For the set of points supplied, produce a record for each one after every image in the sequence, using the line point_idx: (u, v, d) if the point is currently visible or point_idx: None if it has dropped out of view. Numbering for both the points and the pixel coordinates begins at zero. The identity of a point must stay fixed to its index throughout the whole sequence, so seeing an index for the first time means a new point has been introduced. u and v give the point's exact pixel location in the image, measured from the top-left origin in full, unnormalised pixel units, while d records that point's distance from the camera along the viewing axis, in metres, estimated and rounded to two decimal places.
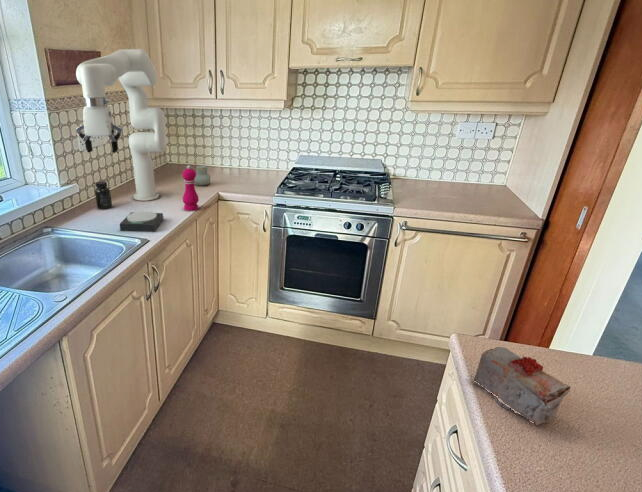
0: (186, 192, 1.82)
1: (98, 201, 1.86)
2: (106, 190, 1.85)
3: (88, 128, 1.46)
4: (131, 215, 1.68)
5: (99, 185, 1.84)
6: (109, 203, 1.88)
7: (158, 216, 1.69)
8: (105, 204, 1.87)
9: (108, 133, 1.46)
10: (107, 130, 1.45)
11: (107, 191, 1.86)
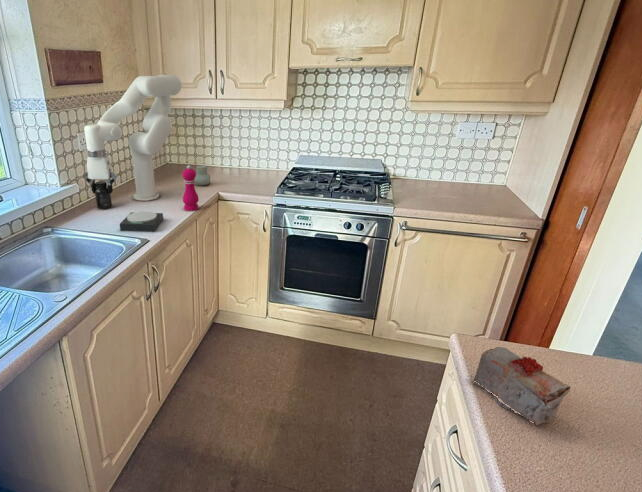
0: (186, 192, 1.82)
1: (98, 201, 1.86)
2: (106, 190, 1.85)
3: (91, 173, 1.82)
4: (131, 215, 1.68)
5: (99, 185, 1.84)
6: (109, 203, 1.88)
7: (158, 216, 1.69)
8: (105, 204, 1.87)
9: (107, 177, 1.82)
10: (106, 175, 1.82)
11: (107, 191, 1.86)
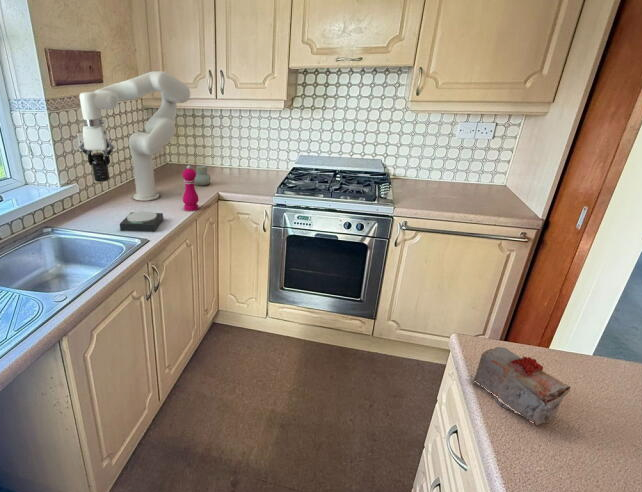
0: (186, 192, 1.82)
1: (95, 173, 1.81)
2: (103, 161, 1.80)
3: (87, 144, 1.76)
4: (131, 215, 1.68)
5: (96, 156, 1.78)
6: (107, 175, 1.83)
7: (158, 216, 1.69)
8: (102, 176, 1.81)
9: (104, 148, 1.76)
10: (103, 145, 1.76)
11: (104, 162, 1.80)
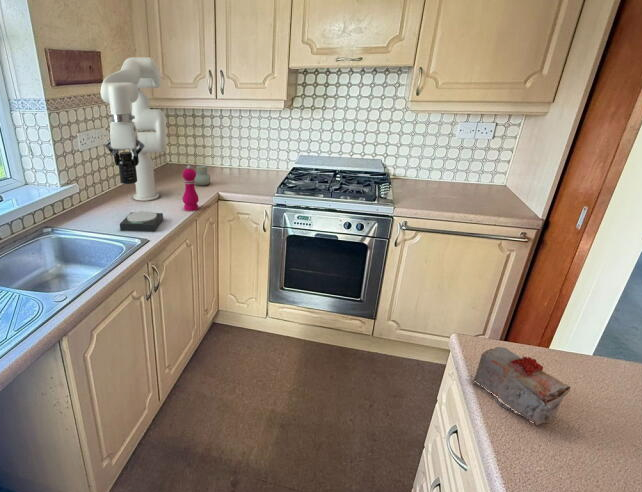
0: (186, 192, 1.82)
1: (122, 174, 1.62)
2: (131, 161, 1.61)
3: (114, 142, 1.58)
4: (131, 215, 1.68)
5: (123, 155, 1.60)
6: (135, 177, 1.64)
7: (158, 216, 1.69)
8: (130, 178, 1.63)
9: (133, 146, 1.58)
10: (132, 143, 1.57)
11: (132, 163, 1.61)
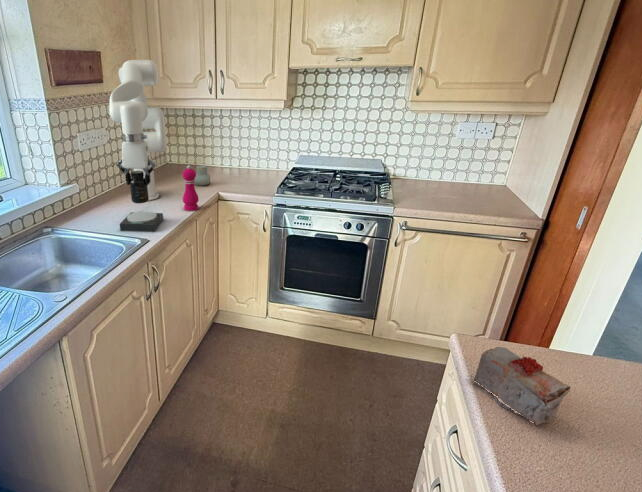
0: (186, 192, 1.82)
1: (133, 194, 1.60)
2: (143, 181, 1.59)
3: (126, 161, 1.56)
4: (131, 215, 1.68)
5: (135, 175, 1.58)
6: (146, 196, 1.62)
7: (158, 216, 1.69)
8: (141, 198, 1.61)
9: (145, 166, 1.56)
10: (144, 163, 1.56)
11: (144, 182, 1.59)
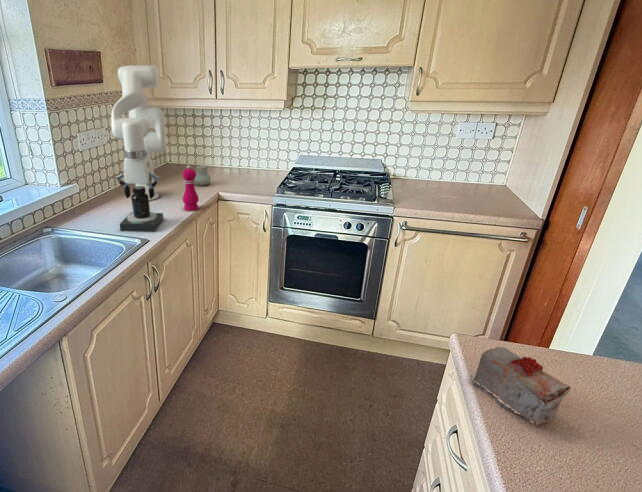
0: (186, 192, 1.82)
1: (135, 209, 1.63)
2: (145, 196, 1.62)
3: (128, 177, 1.59)
4: (131, 215, 1.68)
5: (137, 191, 1.60)
6: (148, 211, 1.65)
7: (158, 216, 1.69)
8: (143, 213, 1.64)
9: (146, 182, 1.59)
10: (145, 179, 1.58)
11: (146, 198, 1.62)
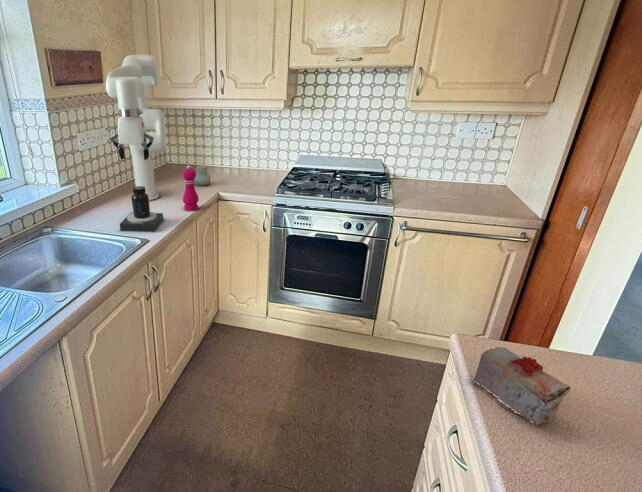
0: (186, 192, 1.82)
1: (135, 209, 1.63)
2: (145, 196, 1.62)
3: (122, 137, 1.56)
4: (131, 215, 1.68)
5: (137, 191, 1.60)
6: (148, 211, 1.65)
7: (158, 216, 1.69)
8: (143, 213, 1.64)
9: (141, 142, 1.56)
10: (140, 139, 1.56)
11: (146, 198, 1.62)
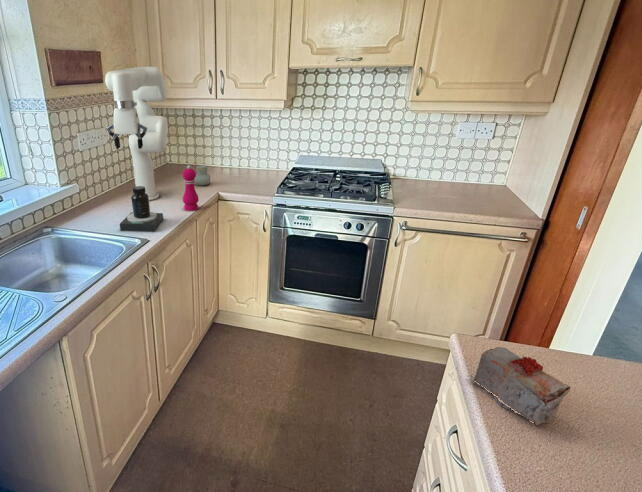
0: (186, 192, 1.82)
1: (135, 209, 1.63)
2: (145, 196, 1.62)
3: (117, 127, 1.67)
4: (131, 215, 1.68)
5: (137, 191, 1.60)
6: (148, 211, 1.65)
7: (158, 216, 1.69)
8: (143, 213, 1.64)
9: (135, 132, 1.67)
10: (134, 129, 1.66)
11: (146, 198, 1.62)
